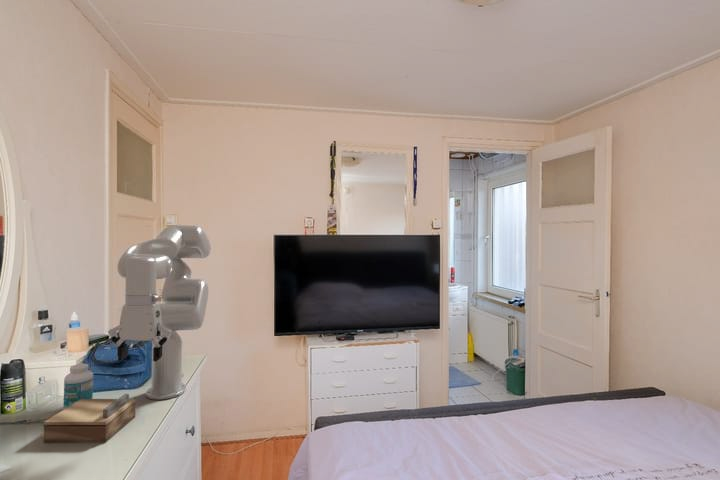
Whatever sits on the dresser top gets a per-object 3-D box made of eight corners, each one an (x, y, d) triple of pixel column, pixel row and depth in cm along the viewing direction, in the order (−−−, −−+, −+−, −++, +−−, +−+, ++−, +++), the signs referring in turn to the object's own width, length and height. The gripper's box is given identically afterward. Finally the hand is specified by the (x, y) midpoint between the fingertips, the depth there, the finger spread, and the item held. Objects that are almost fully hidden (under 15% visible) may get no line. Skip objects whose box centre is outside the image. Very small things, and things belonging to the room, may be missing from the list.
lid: (81, 401, 112) (81, 390, 112) (135, 401, 113) (135, 391, 113) (44, 424, 98) (44, 412, 98) (106, 424, 99) (106, 413, 99)
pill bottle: (57, 411, 115) (58, 368, 115) (82, 401, 122) (82, 360, 122) (74, 415, 113) (75, 371, 113) (98, 405, 120) (99, 363, 120)
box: (81, 417, 112) (81, 402, 112) (135, 417, 113) (135, 402, 113) (43, 442, 98) (44, 426, 98) (105, 442, 99) (106, 426, 99)
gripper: (177, 298, 109) (176, 355, 109) (118, 297, 108) (117, 354, 108) (165, 303, 101) (164, 364, 102) (101, 301, 101) (100, 363, 101)
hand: (140, 359), depth 105 cm, fingers open, 9 cm apart
